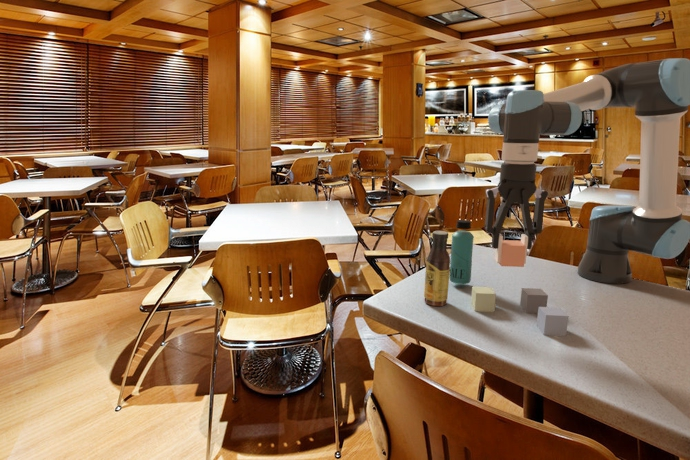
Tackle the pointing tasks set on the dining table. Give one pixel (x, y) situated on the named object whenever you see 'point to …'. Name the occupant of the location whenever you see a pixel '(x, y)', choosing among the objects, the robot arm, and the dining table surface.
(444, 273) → the sauce bottle
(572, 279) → the dining table surface
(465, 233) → the beverage bottle
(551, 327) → the cube slate
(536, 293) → the cube charcoal
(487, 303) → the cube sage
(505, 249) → the cube terracotta
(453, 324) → the dining table surface
